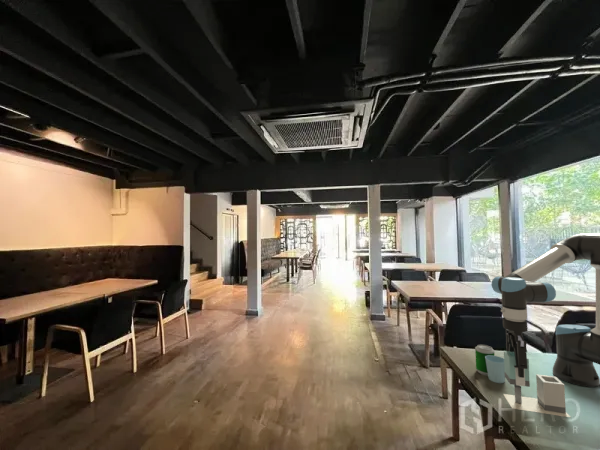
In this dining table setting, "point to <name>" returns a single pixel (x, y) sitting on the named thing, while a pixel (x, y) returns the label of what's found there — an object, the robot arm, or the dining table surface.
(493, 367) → the cup
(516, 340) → the robot arm
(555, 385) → the grey sleeve
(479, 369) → the soda can
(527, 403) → the pin board
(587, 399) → the dining table surface
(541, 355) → the dining table surface
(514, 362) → the teal sleeve
